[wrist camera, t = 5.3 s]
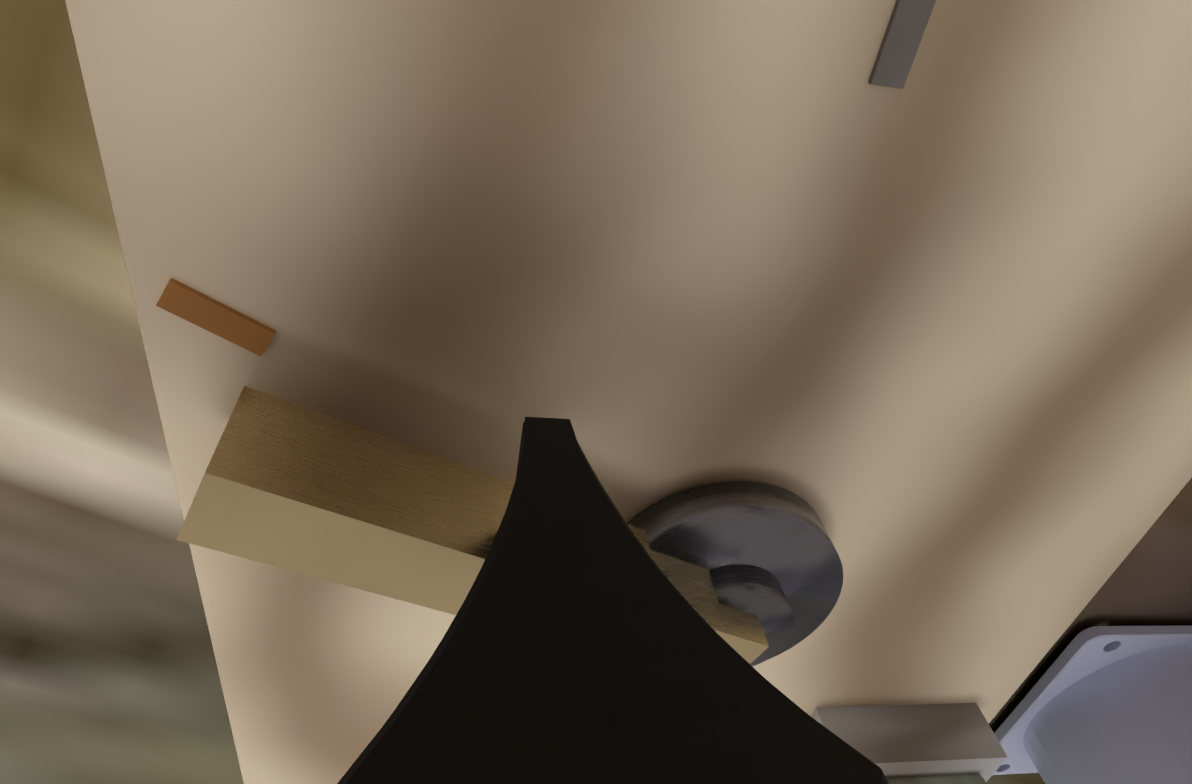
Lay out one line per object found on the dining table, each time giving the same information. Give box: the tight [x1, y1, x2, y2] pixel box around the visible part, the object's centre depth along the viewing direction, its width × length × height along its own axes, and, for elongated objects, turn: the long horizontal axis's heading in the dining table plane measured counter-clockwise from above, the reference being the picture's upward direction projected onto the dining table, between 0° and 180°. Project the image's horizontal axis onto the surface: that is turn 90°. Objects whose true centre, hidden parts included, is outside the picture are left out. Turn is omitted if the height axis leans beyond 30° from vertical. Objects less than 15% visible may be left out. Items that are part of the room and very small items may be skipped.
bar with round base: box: [176, 386, 843, 666], centre depth 14 cm, size 5×12×2 cm, turn 58°
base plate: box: [65, 0, 1192, 784], centre depth 15 cm, size 21×22×4 cm
